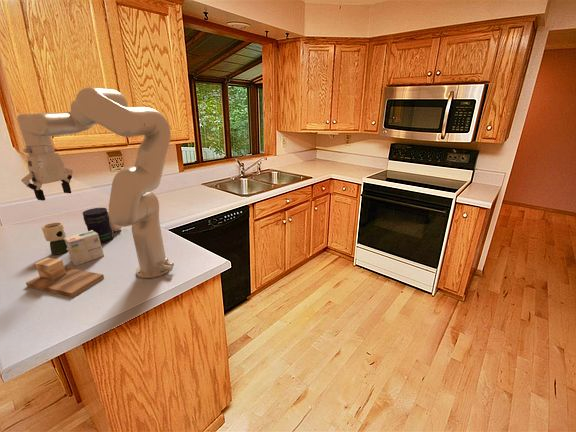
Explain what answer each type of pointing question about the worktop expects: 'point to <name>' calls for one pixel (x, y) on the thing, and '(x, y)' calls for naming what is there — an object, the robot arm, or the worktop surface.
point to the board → (67, 282)
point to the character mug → (55, 237)
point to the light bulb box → (84, 247)
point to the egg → (114, 225)
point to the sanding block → (50, 268)
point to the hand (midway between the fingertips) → (55, 196)
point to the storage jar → (99, 223)
